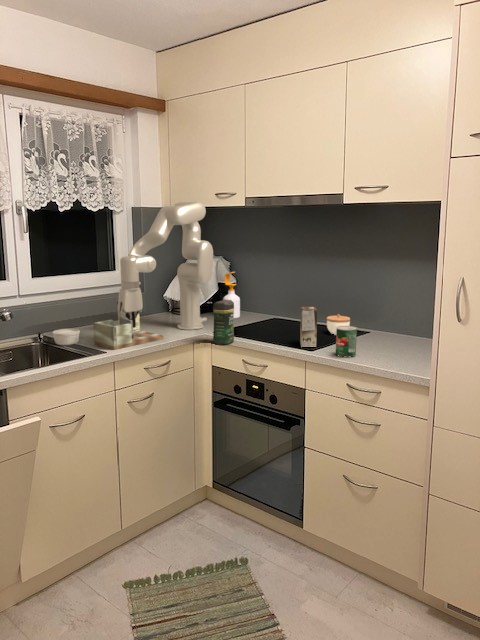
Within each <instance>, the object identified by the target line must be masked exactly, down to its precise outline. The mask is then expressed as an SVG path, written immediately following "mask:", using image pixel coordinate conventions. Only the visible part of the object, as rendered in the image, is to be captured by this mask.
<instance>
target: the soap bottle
mask: <svg viewBox="0 0 480 640" xmlns="http://www.w3.org/2000/svg"><path fill="white" fill-rule="evenodd" d="M235 273H236V271H231V272H228V273H225V274H224V285H225V286H228V287H229V288H228V291H227V292H228V293H227V294H226V295H225V296H223V299H222V300H232V301H233V302H234V315H233V319H238V318H240V317H241V298H240V296H238V295H237V294H236V293H235V289H234V287H235V286H237V283H231V277H230V276H231V274H235Z"/></svg>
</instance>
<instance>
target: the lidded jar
mask: <svg viewBox="0 0 480 640" xmlns="http://www.w3.org/2000/svg"><path fill="white" fill-rule="evenodd" d="M350 324H351V317H349V316H346V315H345V316H344V315H340V313H337V315H329V316H327V317H326V328H327V330H328V331H329V333H330V334H331V335H332V334H334V335H333V336H336V331H337V327H338V326H351V325H350Z"/></svg>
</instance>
